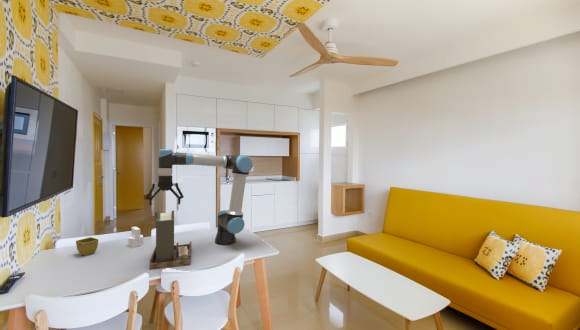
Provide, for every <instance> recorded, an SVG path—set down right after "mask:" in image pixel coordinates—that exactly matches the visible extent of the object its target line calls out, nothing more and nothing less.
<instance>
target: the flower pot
mask: <svg viewBox="0 0 580 330" xmlns="http://www.w3.org/2000/svg"><path fill="white" fill-rule="evenodd" d="M75 245H76V246H75V247H76V250H77V252H78V253H79V254H80V255H82V256H90V255H92V254H95V252H96V251H97V248H98V245H99V238H95V237H92V236H90V237H86V238H82V239H78V240H75Z"/></svg>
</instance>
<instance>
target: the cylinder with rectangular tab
mask: <svg viewBox="0 0 580 330" xmlns="http://www.w3.org/2000/svg"><path fill="white" fill-rule="evenodd" d="M127 239H128V240H127V242H128V245H127V246H128V248H131V249H132V248H139V247H142V246H144V235H143V234H141V228H140V227H138V226H131V235H130V236H128V238H127Z"/></svg>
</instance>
